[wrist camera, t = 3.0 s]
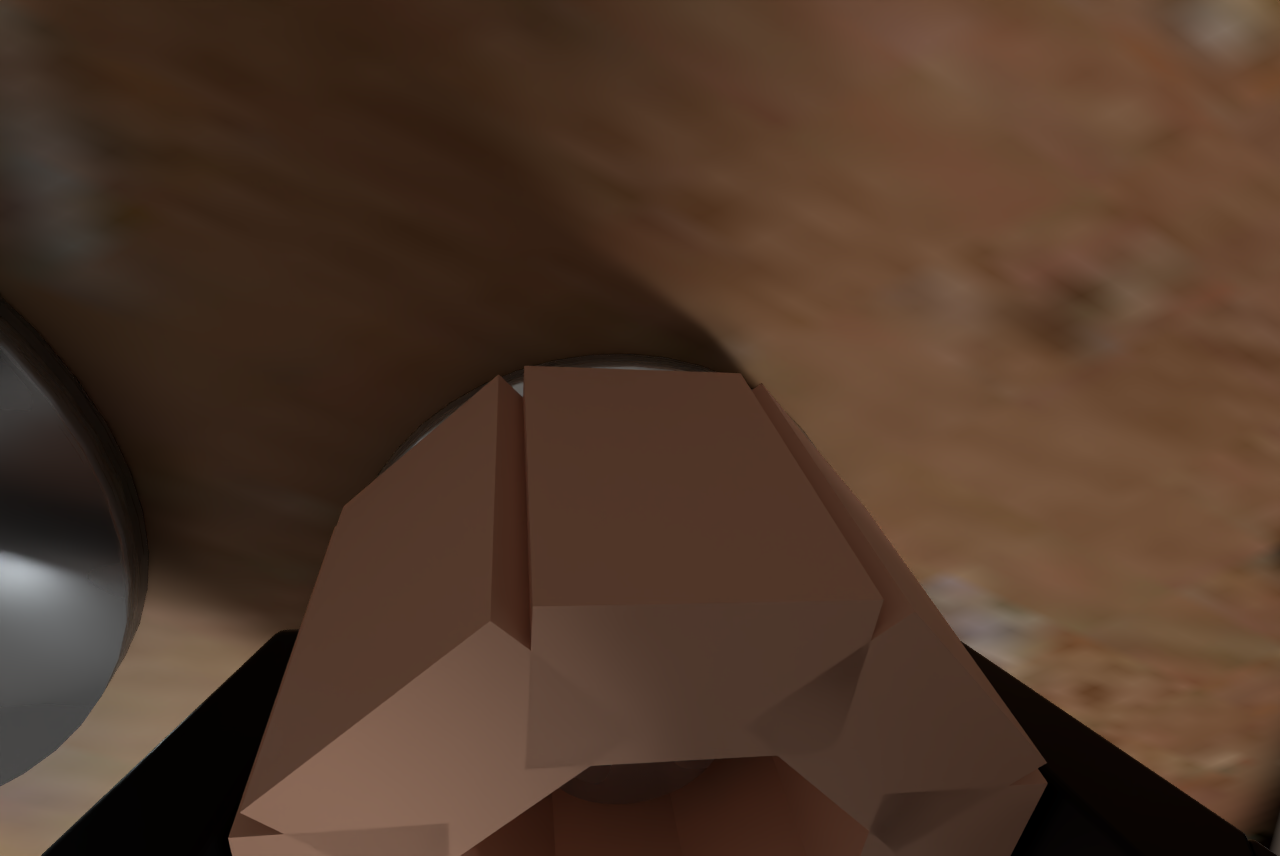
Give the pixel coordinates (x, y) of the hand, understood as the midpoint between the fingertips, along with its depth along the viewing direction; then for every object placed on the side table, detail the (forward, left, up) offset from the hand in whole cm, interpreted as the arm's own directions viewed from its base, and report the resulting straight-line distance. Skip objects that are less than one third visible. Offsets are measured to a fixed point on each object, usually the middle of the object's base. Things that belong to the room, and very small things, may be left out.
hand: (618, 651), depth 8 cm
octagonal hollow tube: (0, 0, -1) cm, 1 cm away
